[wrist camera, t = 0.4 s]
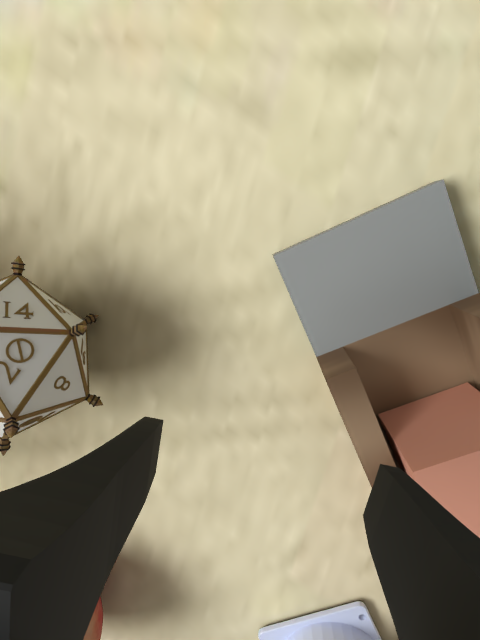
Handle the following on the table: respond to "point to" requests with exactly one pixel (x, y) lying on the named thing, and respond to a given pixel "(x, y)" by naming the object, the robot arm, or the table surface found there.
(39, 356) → the game die
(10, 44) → the table surface
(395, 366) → the chute
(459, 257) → the shelf
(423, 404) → the block
